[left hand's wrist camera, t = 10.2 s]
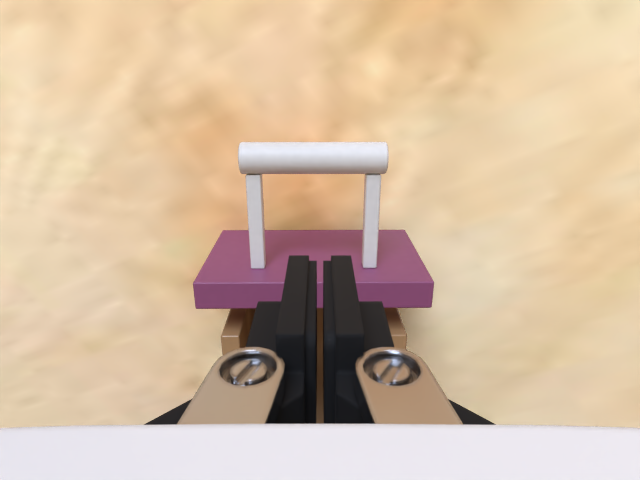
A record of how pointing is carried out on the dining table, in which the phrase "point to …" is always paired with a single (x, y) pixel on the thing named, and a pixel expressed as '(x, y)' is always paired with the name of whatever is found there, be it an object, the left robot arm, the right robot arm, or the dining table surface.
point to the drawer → (310, 246)
